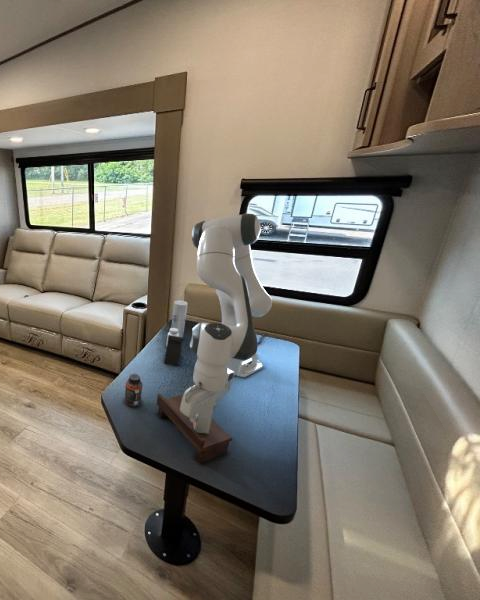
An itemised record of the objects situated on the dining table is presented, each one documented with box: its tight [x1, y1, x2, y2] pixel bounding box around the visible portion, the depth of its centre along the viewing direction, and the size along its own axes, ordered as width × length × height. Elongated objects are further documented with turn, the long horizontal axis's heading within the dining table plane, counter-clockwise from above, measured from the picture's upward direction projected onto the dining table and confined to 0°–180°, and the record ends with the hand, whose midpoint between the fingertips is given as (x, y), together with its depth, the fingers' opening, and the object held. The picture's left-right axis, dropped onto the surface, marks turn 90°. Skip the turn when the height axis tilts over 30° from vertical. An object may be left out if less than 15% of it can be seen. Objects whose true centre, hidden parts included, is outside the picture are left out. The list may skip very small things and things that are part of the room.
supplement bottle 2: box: [165, 327, 179, 347], centre depth 155 cm, size 5×5×10 cm
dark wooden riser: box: [156, 393, 233, 464], centre depth 103 cm, size 12×22×9 cm, turn 21°
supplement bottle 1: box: [124, 373, 143, 408], centre depth 116 cm, size 6×6×11 cm
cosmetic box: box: [193, 398, 214, 434], centre depth 97 cm, size 6×4×12 cm
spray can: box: [170, 299, 189, 339], centre depth 162 cm, size 6×6×20 cm
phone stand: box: [163, 335, 184, 367], centre depth 143 cm, size 9×6×12 cm, turn 156°
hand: (202, 414), depth 97 cm, fingers open, 8 cm apart
